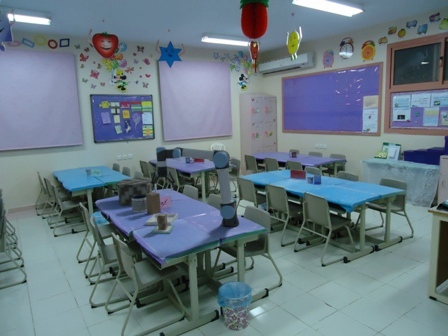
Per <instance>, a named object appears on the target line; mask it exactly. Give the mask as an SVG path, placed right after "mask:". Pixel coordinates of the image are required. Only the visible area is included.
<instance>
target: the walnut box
mask: <svg viewBox="0 0 448 336" xmlns="http://www.w3.org/2000/svg"><path fill="white" fill-rule="evenodd" d="M158 214H159V215H158V225H157V226H158V229H159V230H166V229H167V228H168V226H169V225H167V214H168V213H158Z"/></svg>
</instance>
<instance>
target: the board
mask: <svg viewBox="0 0 448 336" xmlns="http://www.w3.org/2000/svg"><path fill="white" fill-rule="evenodd" d="M175 227H176V225H168V228H167V229H166V230H159V229H158V225H155V227H154V228H153V229H152V230H151V232H150V235H151V234H153V235H159V234H160V235H164V234H166V235H167V234H171V233H172V231H173V229H174V228H175Z"/></svg>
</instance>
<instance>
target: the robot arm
mask: <svg viewBox="0 0 448 336" xmlns="http://www.w3.org/2000/svg"><path fill="white" fill-rule="evenodd" d="M155 152H156V153H155V155H156V165H157V171H154V172H153V176H152V178H151V179H152V181H151V183H152V188H154V192H156V193H157V191H158V190H157V181H158V180H159V179H160V178H166V179H167V180H168V182H169V183H170V192H172V193H173V191H174V186H175V183H176V182H177V181H176V179H175V178H174V176H173V174H172V171H168V167H167V163H168V162H167V159H181V158H189V159H199V160H209V161H212V162H213V165H214V170H215V171H216V172H217V178H218V184H219V185H218V186H219V192H220V199H221V200H220V201H219V207H220V208H219V209H220V210H219V212H220V213H219V214H220V217H221V218H222V220H221V226H222V227H225V228H235V227H237V226H239V225H240V220H239V217H238V206H237V204H238V203H237V202H238V201H237V198H236V197H232V190H231V189H232V188H231V183H230V175H229V169H230V167H231V166H230V159H231V157H230V153H229V152H228V151H226V150H224V149H223V150H222V149H221V150H217V149H214V150H206V149H197V148H186V147H180V146H176V147H174V148H169V149H167V148H166V147H165V146H158V147H156V149H155Z"/></svg>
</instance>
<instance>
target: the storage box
mask: <svg viewBox="0 0 448 336" xmlns="http://www.w3.org/2000/svg"><path fill="white" fill-rule="evenodd" d="M151 181H152V178H151V177H138V178H137V177H136V178H125V179H120V180H119V182H117V184H116V185H117V191H118V192H117V193H118V203H119V204H118V205H119V206H120V207H121V206H122V207H129V206H131V207H132V199H131V198H132V197H133V196H136V195H146V194H147V193H152V192H153V184H152V183H151Z"/></svg>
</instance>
